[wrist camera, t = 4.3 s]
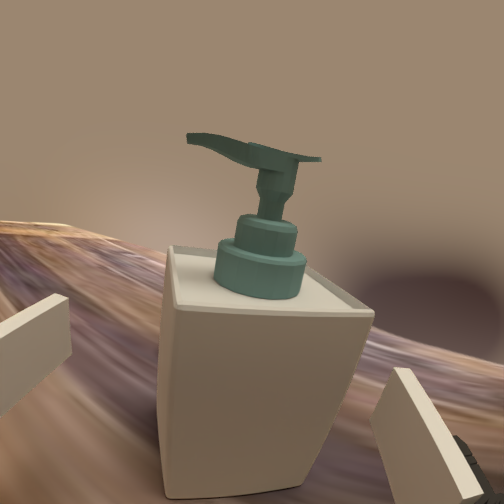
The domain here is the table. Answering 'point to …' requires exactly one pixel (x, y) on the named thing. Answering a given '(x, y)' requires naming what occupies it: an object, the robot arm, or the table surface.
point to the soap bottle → (251, 347)
